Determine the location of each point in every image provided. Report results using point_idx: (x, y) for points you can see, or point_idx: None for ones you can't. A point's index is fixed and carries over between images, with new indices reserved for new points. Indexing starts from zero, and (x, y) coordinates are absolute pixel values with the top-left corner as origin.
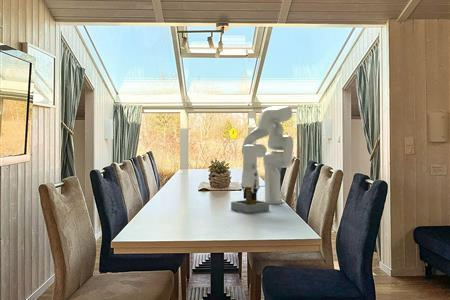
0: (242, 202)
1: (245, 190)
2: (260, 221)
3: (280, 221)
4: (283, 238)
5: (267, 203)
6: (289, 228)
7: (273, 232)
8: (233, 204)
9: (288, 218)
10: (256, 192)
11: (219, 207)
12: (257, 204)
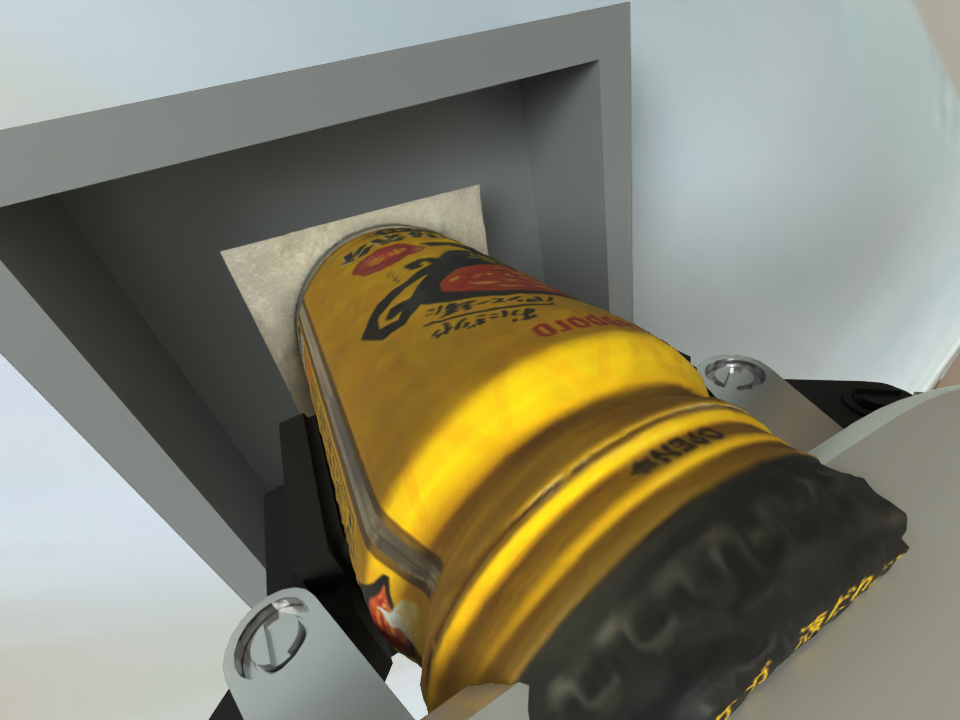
0: (199, 461)
1: (382, 665)
2: (787, 367)
3: (866, 242)
4: (946, 362)
5: (619, 60)
6: (938, 274)
7: (904, 370)
8: None
9: (876, 114)
10: (728, 372)
11: (13, 697)
12: (628, 306)
